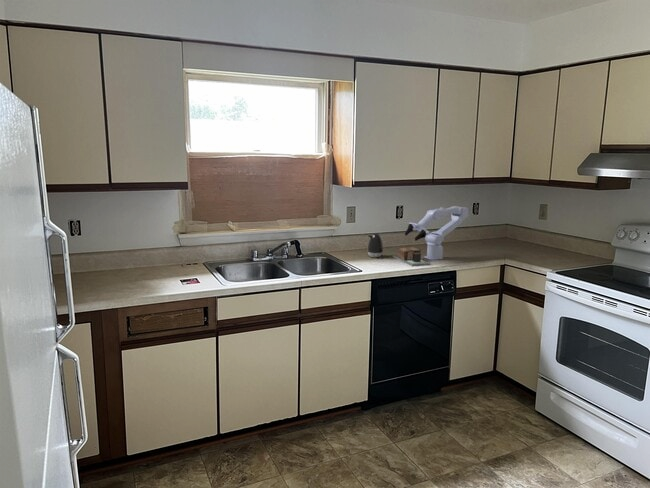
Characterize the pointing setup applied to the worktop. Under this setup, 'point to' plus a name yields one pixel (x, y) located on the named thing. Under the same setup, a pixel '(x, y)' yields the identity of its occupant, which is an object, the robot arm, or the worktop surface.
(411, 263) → the track
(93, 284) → the worktop surface
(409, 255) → the block
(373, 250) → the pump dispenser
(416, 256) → the sled
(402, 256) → the tunnel
